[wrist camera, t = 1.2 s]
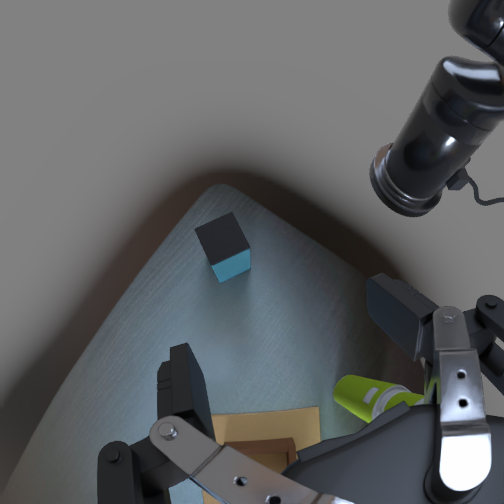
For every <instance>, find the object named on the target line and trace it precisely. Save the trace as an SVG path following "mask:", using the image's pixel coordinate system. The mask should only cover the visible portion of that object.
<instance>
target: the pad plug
mask: <svg viewBox="0 0 504 504" xmlns="http://www.w3.org/2000/svg"><path fill="white" fill-rule="evenodd" d="M195 231H196V234H197V236H198V238H199V240H200V242H201V245H202V247H203V249H204V251H205V254H206V256H207V258H208V260H209V262H210V264H211V266H212V268H213V270H214V272H215V274H216V276H217V278H218V280H219V282H220V283H221V282H223V281H225V280H228V279H230V278H232V277H234V276H236V275H238V274H240V273H242V272H245V271H247V270H249V269H251V264H250V246H249V244H248V242H247V240H246V238H245V236H244V234H243V232H242V230H241V228H240V226H239V225H238V223H237V221H236V219H235V217H234V215H233V213H232V212H230V213H228V214H226V215H224V216H221V217H219V218H217V219H215V220H213V221H210V222H208V223H206V224H204V225H202V226H200V227H197V228H195Z"/></svg>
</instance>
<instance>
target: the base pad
mask: <svg viewBox="0 0 504 504" xmlns="http://www.w3.org/2000/svg"><path fill="white" fill-rule="evenodd" d="M211 417H212V422H213V427H214V432H215V437H216V442H217V443H218V444H220V445H223V444H226V445H229V446H231V447H232V448H234V449H236V450H237V451H239V452H241V453H242V454H244V455H246V456H248V457H249V458H251V459H253V460H255V461H256V462H258V463H260V464H262V465H264V466H265V467H267V468H269V469H271V470H273V471H275V472H277V473H279V474H281V472H282V471H283V470H284V469H285V468H286V467H287V466H289V465H290V464H291V463H292V462H294V461H295V460H297V459H298V456H297V453H296V451H299V450H301V449H304V448H307V447H309V446H312V445H314V444H317V443H319V442H321V436H320V416H319V407H318V406H315V407H308V408H300V409H291V410H282V411H271V412H258V413H242V414H211ZM202 492H203V499H204V504H222V503H220V502H219V501H218V500H216V499H215V498H213V497H212V496H211V495H209V494H208V493H207V492H205V491H204V490H203V489H202Z"/></svg>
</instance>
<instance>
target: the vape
mask: <svg viewBox="0 0 504 504" xmlns="http://www.w3.org/2000/svg"><path fill="white" fill-rule="evenodd" d="M333 398H334V400H335V401H336V402H338V403H339V404H340V405H342V406H343V407H345V408H346V409H348V410H349V411H350V412H352V413H353V414H355V415H356V416H358V417H359V418H361V419H363V420H364V421H366V422H368V423H370V422H371V421H372V420H374V419H375V418H376V417H377V416H378V415H379V414H381V413H383V412H384V411H386V410H388V409H390V408H392V407H393V406H395V405H397V404H399V403H400V402H402V401H405V402H406V404H407V405H408V406H413V405H418V404H423V403H424V395H419V394H415V393H412V392H410V391H409V390H408V389H406V388H405V387H404V386H402V385H397V384H392V383H387V382H382V381H378V380H373V379H369V378H364V377H360V376H356V375H347V376H344V377H343V378H341V379H340V380H339V381H338V382H337V384H336V385H335V387H334V390H333Z"/></svg>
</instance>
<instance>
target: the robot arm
mask: <svg viewBox="0 0 504 504" xmlns="http://www.w3.org/2000/svg"><path fill="white" fill-rule="evenodd" d="M448 17H449V23H450V25H451V26H452V29H453V30H454V31H455V32H456V33H457V34H458V35H459V36H460V37H462V38H463V39H464V40H465V41H467V42H468V43H470V44H471V45H473V46H474V47H476V48H477V49H479V50H480V51H482V52H483V53H484V54H486V55H487V56H489V57H490V58H492V59H493V60H494V61H493V62H480V61H474V60H470V59H465V58H462V57H458V56H446V57H444V58H442V59H441V60H440V61H439V62H438V64H437V66H436V67H435V70H434V71H433V73H432V75H431V77H430V79H429V81H428V83H427V84H426V86H425V88H424V90H423V92H422V94H421V96H420V97H419V99H418V101H417V103H416V105H415V106H414V108H413V110H412V112H411V114H410V115H409V117H408V119H407V121H406V122H405V124H404V126H403V128H402V129H401V131H400V133H399V134H398V136H397V138H396V140H395V141H394V143H393V144H391V146H390V147H389V149H390V150H389V149H388V150H389V151H388V152H387V153H386V155H385V157H384V159H383V163H382V169H383V174H384V176H385V179H386V181H387V182H388V184H389V185H390V187H391V188H392V189H393V190H394V191H395V192H396V193H397V194H398V195H400V196H401V197H403V198H404V199H406V200H409V201H412V202H416V203H422V202H426V201H428V200H430V199H431V198H432V197H433V196H434V195H435V194H436V193H439V192H440V191H441V190H442V189H443V188H444V187H445V186H446V185H447V187H448V190H460V189H461V188H463V187H464V186H465V185H466V184H467V183H468V182H469V183H470V184H471V185H472V187H473V189H474V197H475V200H476V202H477V203H479V204H480V205H484V206H488V205H491V204H495V203H499V202H504V198H496V199H492V200H488V201H483V200H481V199H479V193H478V187H477V185H476V183H475V182H474V181H473V180H472V178H470V177H469V176H468V174H467V172H466V169H465V166H466V165H467V164H468V163H469V162H470V159H471V158H470V156H471V155H472V154H473V153H474V152H475V151H476V150H477V149H478V148H479V147H480V145H481V144H482V143H483V142H484V141H485V139H486V138H487V137H488V136H489V135H490V134H491V133H492V132H493V130H494V129H495V128H496V127H497V126H498V125H499V123H500V122H502V121H503V120H504V0H450V3H449V8H448ZM366 288H367V309H368V312H369V315H370V317H371V318H372V320H373V321H374V322H375V323H376V324H377V325H378V326H379V327H380V328H381V329H382V330H383V331H384V332H385V333H386V334H387V335H388V336H389V337H390V338H391V339H392V340H393V341H394V342H395V343H396V344H397V345H398V346H399V347H400V348H401V349H402V350H403V351H404V352H405V353H406V354H407V355H408V356H409V357H410V358H411V359H412V360H413V361H414V362H415V361H417V360H418V359H420V358H422V357H424V358H425V359H426V360H425V387H424V403H423V404H418V405H413V406H408V405H407V404H406V402H405V401H402V402H400V403H399V404H397V405H395V406H393V407H392V408H390V409H388V410H386V411H384V412H383V413H381V414H379V415H378V416H377V417H376V418H375V419H374V420H372V421H371V422H370V423H369V424H368V425H366V426H365V427H364V428H363V429H361V430H360V431H359V432H357V433H355V434H351V435H347V436H342V437H338V438H333V439H328V440H324V441H322V442H319V443H317V444H314V445H312V446H309V447H307V448H304V449H301V450H299V451H296V453H297V456H298V459H297V460H295V461H294V462H292V463H291V464H290V465H289V466H287V467H286V468H285V469H284V470H283V471H282V472H281V474H279V473H277V472H275V471H273V470H271V469H269V468H267V467H265V466H264V465H262V464H260V463H258V462H256V461H255V460H253V459H251V458H249V457H248V456H246V455H244V454H242V453H241V452H239V451H237V450H236V449H234V448H232V447H231V446H229V445H226V444H223V445H220V444H218V443H217V442H216V437H215V432H214V427H213V422H212V417H211V412H210V407H209V401H208V396H207V390H206V384H205V379H204V376H203V373H202V370H201V368H200V366H199V364H198V362H197V360H196V358H195V356H194V354H193V352H192V350H191V348H190V346H189V344H188V343H184V344H181V345H177V346H174V347H170V360H169V361H166V362H162V364H161V366H160V368H159V370H158V372H157V382H158V384H157V390H158V391H157V415H158V420H157V421H156V422H155V423H154V424H153V426H152V427H151V429H150V433H149V436H148V437H146V438H145V439H143V440H141V441H139V442H137V443H134V444H132V445H130V446H128V445H127V444H126V443H124V442H122V441H113V442H110V443H108V444H106V445H105V446H104V447H103V448H102V449H101V451H100V452H99V455H98V470H97V495H98V504H171V500H170V495H169V489H168V488H170V487H172V486H174V485H176V484H178V483H180V482H182V481H184V480H186V479H188V478H189V479H190V480H191V481H192V482H194V483H195V484H196V485H197V486H199V487H200V488H201V489H203V490H204V491H205V492H207V493H208V494H209V495H211V496H212V497H213V498H215V499H216V500H218V501H219V502H220V503H222V504H504V417H498V416H491V415H486V414H485V403H484V393H483V385H482V377H481V372H482V373H483V374H484V375H485V376H486V377H487V378H488V379H489V380H490V382H491V383H492V384H493V385H494V386H495V387H496V388H497V389H498V390H499V391H500V392H501V393H502V394H503V395H504V350H503V349H501V348H500V347H499V346H498V345H497V344H496V343H495V340H496V337H498V338H499V339H501V340H502V341H503V342H504V301H503V300H502V299H500V298H498V297H497V296H494V295H484V296H482V297H480V298H479V299H478V300H477V304H476V308H475V309H471V310H468V311H464V312H462V311H461V310H459V309H457V308H455V307H451V306H444V307H441V308H440V307H439V306H437V305H436V304H435V303H433V302H432V301H431V300H429V299H428V298H427V297H425V296H424V295H423V294H421V293H419V292H418V291H417V290H415V289H413V287H411V286H410V285H409V284H407V283H406V282H403V281H400V280H397V279H394V280H392V279H391V278H390V277H388V276H387V275H385V274H384V273H380V274H378V275H376V276H373V277H371V278H368V279H367V281H366Z"/></svg>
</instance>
